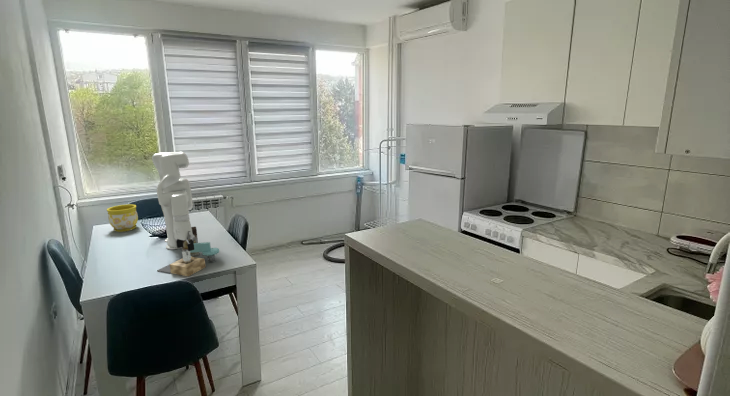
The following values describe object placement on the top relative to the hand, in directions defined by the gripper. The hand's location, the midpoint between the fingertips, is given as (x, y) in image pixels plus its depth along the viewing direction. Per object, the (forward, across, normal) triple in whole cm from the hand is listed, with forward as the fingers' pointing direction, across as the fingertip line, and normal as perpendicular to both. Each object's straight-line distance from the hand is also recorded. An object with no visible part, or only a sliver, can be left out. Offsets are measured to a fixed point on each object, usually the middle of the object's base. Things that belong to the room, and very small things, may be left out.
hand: (185, 248), depth 196 cm
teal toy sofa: (+12, -3, +13) cm, 18 cm away
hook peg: (+12, -1, 0) cm, 12 cm away
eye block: (+12, -1, 0) cm, 12 cm away
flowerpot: (+10, -107, +20) cm, 109 cm away
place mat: (+12, -11, -4) cm, 17 cm away
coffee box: (+12, -20, +15) cm, 28 cm away
